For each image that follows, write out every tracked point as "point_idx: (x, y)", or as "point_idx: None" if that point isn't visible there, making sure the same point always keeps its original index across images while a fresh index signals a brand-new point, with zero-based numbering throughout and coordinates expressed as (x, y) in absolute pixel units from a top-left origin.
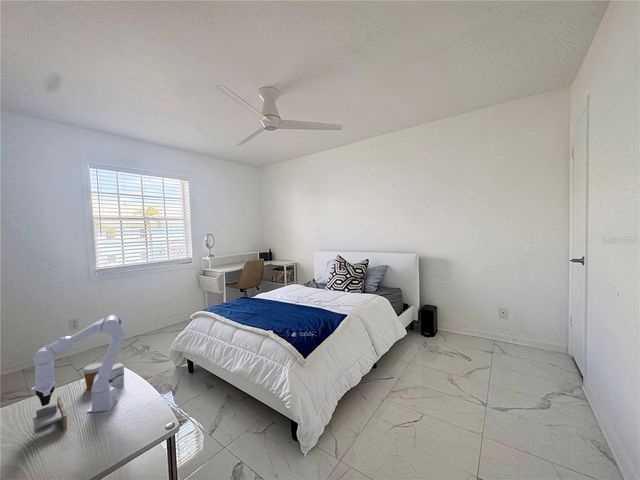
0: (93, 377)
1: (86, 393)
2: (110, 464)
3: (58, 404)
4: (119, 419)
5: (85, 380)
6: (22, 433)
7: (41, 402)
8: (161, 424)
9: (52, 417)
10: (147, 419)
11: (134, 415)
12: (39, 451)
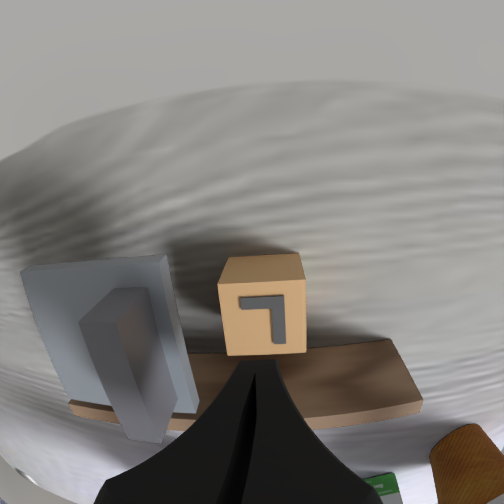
0: (447, 502)
1: (429, 430)
2: None
3: (346, 388)
4: (87, 462)
5: (485, 459)
6: (233, 169)
7: (218, 396)
8: (32, 475)
9: (84, 367)
10: (59, 479)
11: (91, 481)
12: (10, 259)
